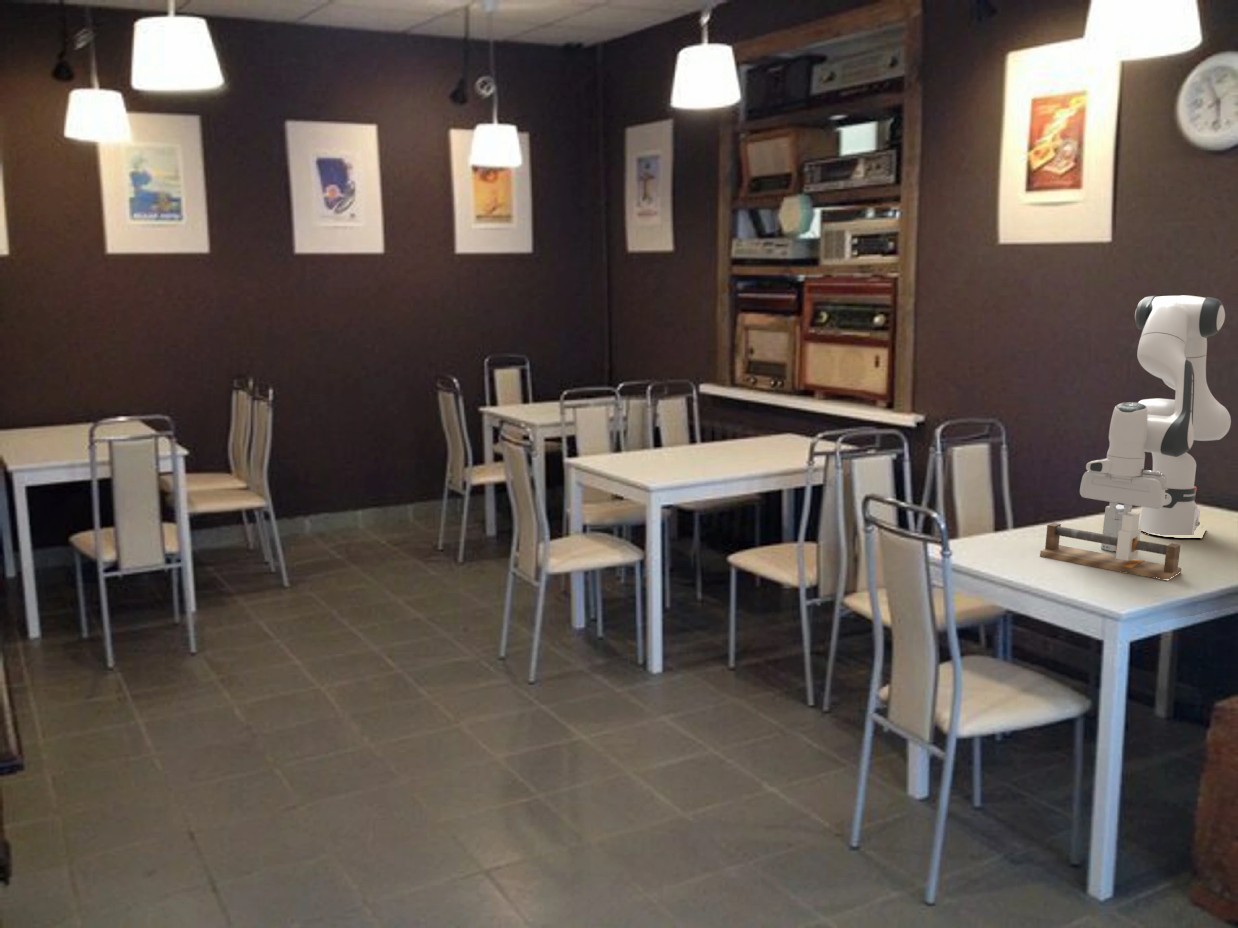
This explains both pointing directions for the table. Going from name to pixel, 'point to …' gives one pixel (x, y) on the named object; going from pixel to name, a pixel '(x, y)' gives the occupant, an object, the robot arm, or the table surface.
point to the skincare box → (1111, 526)
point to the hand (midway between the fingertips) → (1119, 520)
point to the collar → (1128, 536)
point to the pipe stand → (1108, 560)
